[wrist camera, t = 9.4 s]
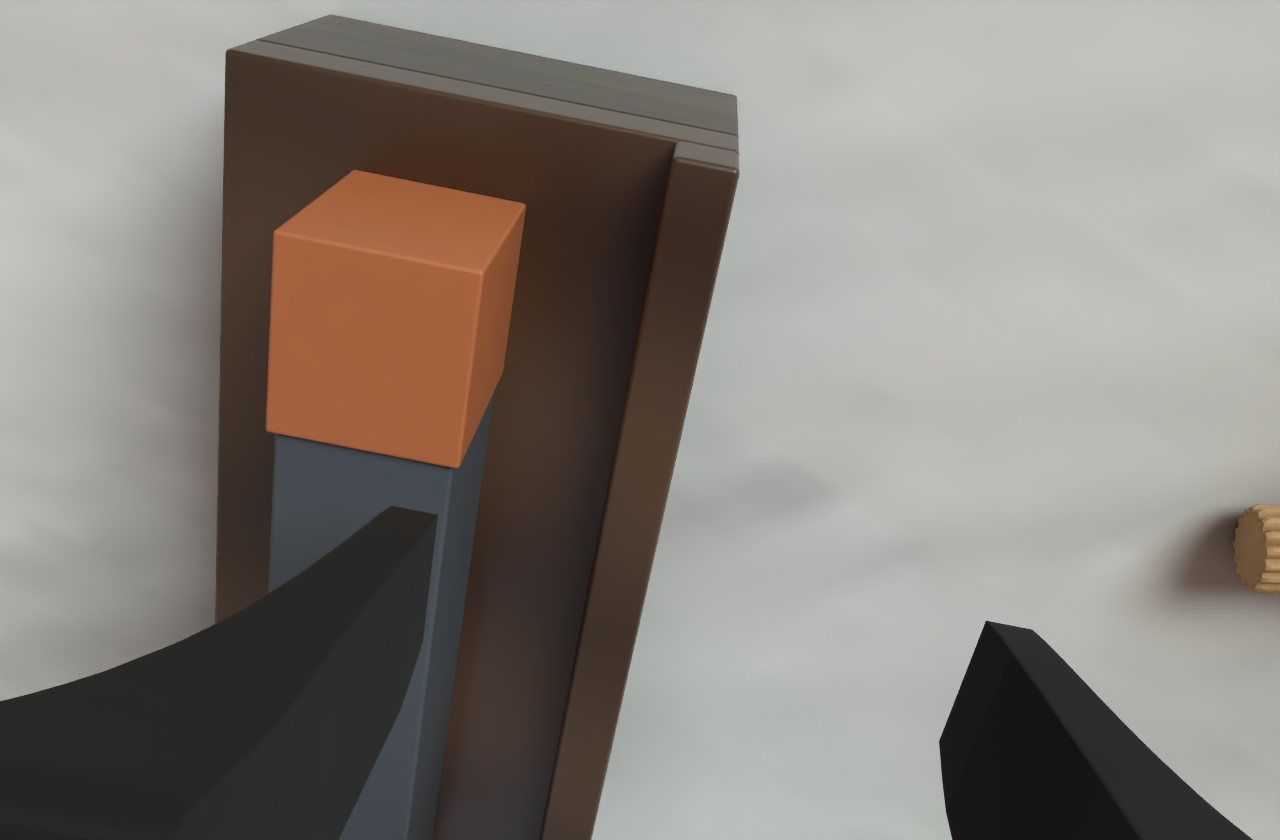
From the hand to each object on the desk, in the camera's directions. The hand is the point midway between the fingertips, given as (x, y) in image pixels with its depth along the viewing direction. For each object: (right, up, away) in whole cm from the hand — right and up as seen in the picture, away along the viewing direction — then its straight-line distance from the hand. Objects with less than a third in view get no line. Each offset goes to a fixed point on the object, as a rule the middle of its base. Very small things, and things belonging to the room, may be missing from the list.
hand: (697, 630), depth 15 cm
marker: (-5, 0, +6) cm, 8 cm away
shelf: (-4, +2, +11) cm, 12 cm away
